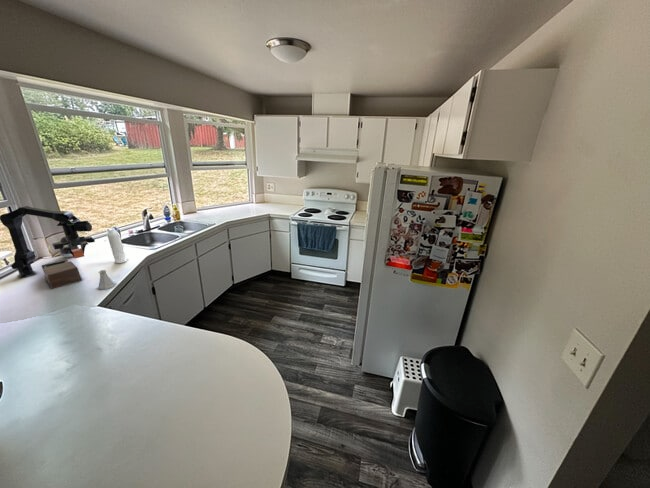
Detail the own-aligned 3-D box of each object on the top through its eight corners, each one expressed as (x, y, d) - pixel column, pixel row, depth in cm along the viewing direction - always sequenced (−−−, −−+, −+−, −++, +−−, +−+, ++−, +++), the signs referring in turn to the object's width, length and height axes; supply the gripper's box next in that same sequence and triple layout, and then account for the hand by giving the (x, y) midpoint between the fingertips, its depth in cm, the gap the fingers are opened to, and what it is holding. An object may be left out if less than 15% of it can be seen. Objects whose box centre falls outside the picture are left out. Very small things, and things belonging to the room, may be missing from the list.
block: (73, 256, 161) (71, 250, 159) (82, 254, 164) (80, 248, 163) (75, 258, 158) (73, 251, 157) (84, 256, 162) (82, 249, 160)
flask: (105, 290, 142) (100, 274, 139) (95, 288, 143) (90, 273, 140) (118, 284, 149) (113, 269, 145) (108, 282, 150) (103, 267, 147)
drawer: (43, 273, 157) (39, 263, 155) (68, 267, 166) (65, 257, 164) (49, 281, 148) (45, 271, 145) (75, 274, 156) (72, 265, 154)
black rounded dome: (83, 255, 186) (77, 236, 181) (64, 260, 178) (57, 240, 173) (78, 252, 191) (72, 233, 186) (60, 256, 183) (52, 237, 178)
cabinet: (47, 280, 150) (41, 268, 147) (75, 273, 160) (70, 261, 157) (52, 288, 142) (47, 275, 140) (81, 280, 152) (77, 267, 149)
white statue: (116, 260, 179) (106, 227, 171) (127, 258, 183) (118, 226, 174) (113, 265, 172) (103, 230, 164) (125, 263, 176) (116, 229, 167)
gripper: (52, 238, 144) (61, 263, 149) (94, 231, 158) (100, 253, 164) (48, 234, 150) (56, 258, 155) (88, 227, 164) (95, 249, 170)
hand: (78, 255), depth 161 cm, fingers closed on block, 4 cm apart
